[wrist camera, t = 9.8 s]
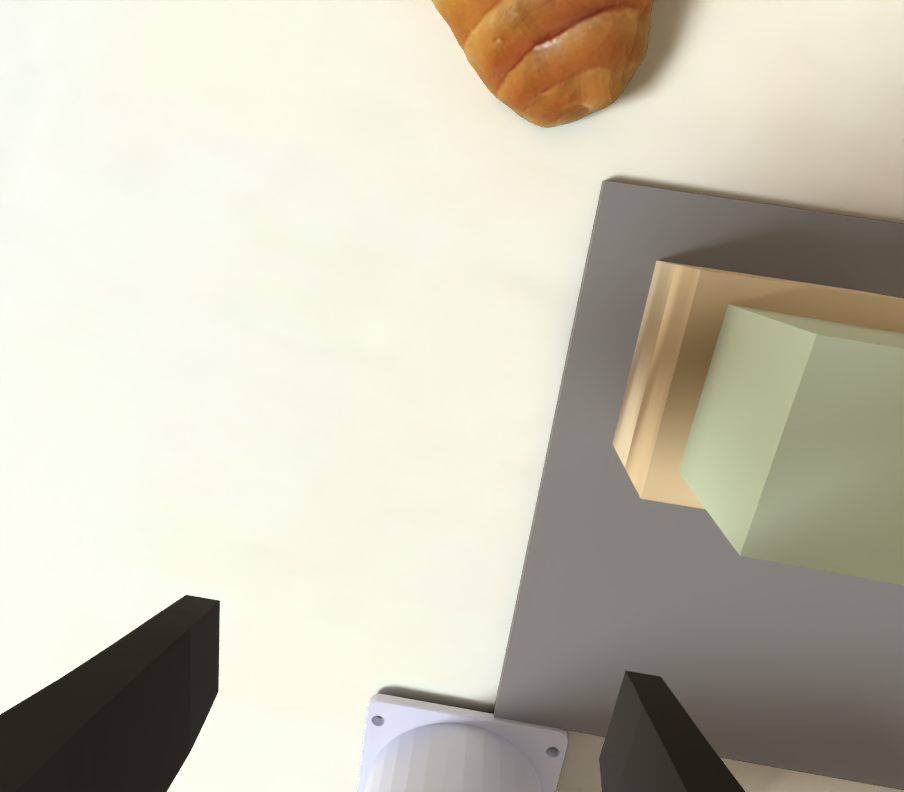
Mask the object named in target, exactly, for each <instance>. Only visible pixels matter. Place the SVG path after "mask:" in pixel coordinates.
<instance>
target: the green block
mask: <svg viewBox="0 0 904 792" xmlns="http://www.w3.org/2000/svg"><path fill="white" fill-rule="evenodd" d="M678 472H679V473H680V475H681V476H682V477H683V479H684V480H685V482H686V483H687V484H688V486H689V487H690V488H691V490H692V491H693V492H694V494H695V495H696V497H697V498H698V499H699V501H700V502H701V503H702V505H703V506H704V508H705V509H706V510H707V512H708V513H709V514H710V516H711V517H712V519H713V520H714V521H715V523H716V524H717V525H718V527H719V528H720V529H721V531H722V532H723V534H724V535H725V536H726V538H727V539H728V540H729V542H730V543H731V545H732V546H733V547H734V549H735V550H736V551H737V553H738V554H739V555H740V556H743V557H748V558H754V559H760V560H765V561H771V562H776V563H782V564H788V565H793V566H799V567H804V568H810V569H816V570H821V571H827V572H832V573H838V574H844V575H849V576H855V577H860V578H866V579H872V580H877V581H883V582H888V583H894V584H900V585H904V333H900V332H894V331H888V330H882V329H876V328H870V327H864V326H857V325H851V324H845V323H839V322H833V321H827V320H821V319H815V318H809V317H803V316H797V315H791V314H785V313H779V312H773V311H767V310H761V309H755V308H749V307H743V306H737V305H731V304H728V306H727V309H726V313H725V316H724V319H723V323H722V326H721V330H720V333H719V336H718V340H717V343H716V346H715V350H714V353H713V357H712V360H711V363H710V367H709V370H708V373H707V377H706V380H705V384H704V387H703V390H702V394H701V397H700V400H699V404H698V407H697V410H696V414H695V417H694V421H693V424H692V427H691V431H690V434H689V437H688V441H687V444H686V448H685V451H684V454H683V458H682V461H681V464H680V468H679V471H678Z"/></svg>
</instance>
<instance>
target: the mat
mask: <svg viewBox="0 0 904 792" xmlns="http://www.w3.org/2000/svg"><path fill="white" fill-rule="evenodd" d="M656 260H657V261H664V262H671V263H677V264H684V265H691V266H697V267H704V268H711V269H718V270H724V271H731V272H738V273H744V274H751V275H758V276H764V277H771V278H778V279H785V280H791V281H798V282H805V283H811V284H818V285H825V286H831V287H838V288H845V289H852V290H858V291H864V292H869V293H875V294H880V295H886V296H892V297H897V298H903V299H904V224H902V223H895V222H888V221H881V220H874V219H867V218H861V217H854V216H847V215H840V214H833V213H826V212H819V211H812V210H805V209H798V208H792V207H785V206H778V205H771V204H764V203H757V202H750V201H743V200H736V199H729V198H723V197H716V196H709V195H702V194H695V193H688V192H681V191H674V190H667V189H660V188H654V187H647V186H640V185H633V184H626V183H619V182H612V181H603V182H602V186H601V191H600V196H599V201H598V206H597V211H596V216H595V220H594V225H593V230H592V235H591V240H590V245H589V250H588V255H587V259H586V264H585V269H584V274H583V279H582V284H581V289H580V293H579V298H578V303H577V308H576V313H575V318H574V323H573V328H572V332H571V337H570V342H569V347H568V352H567V357H566V362H565V367H564V371H563V376H562V381H561V386H560V391H559V396H558V401H557V405H556V410H555V415H554V420H553V425H552V430H551V435H550V440H549V444H548V449H547V454H546V459H545V464H544V469H543V474H542V478H541V483H540V488H539V493H538V498H537V503H536V508H535V513H534V517H533V522H532V527H531V532H530V537H529V542H528V547H527V552H526V556H525V561H524V566H523V571H522V576H521V581H520V586H519V590H518V595H517V600H516V605H515V610H514V615H513V620H512V625H511V629H510V634H509V639H508V644H507V649H506V654H505V659H504V663H503V668H502V673H501V678H500V683H499V688H498V693H497V698H496V702H495V707H494V717H497V718H502V719H508V720H513V721H519V722H525V723H530V724H536V725H542V726H547V727H553V728H558V729H564V730H570V731H575V732H581V733H586V734H592V735H598V736H603V737H606V735H607V731H608V728H609V725H610V721H611V718H612V714H613V711H614V708H615V704H616V701H617V698H618V694H619V691H620V687H621V684H622V681H623V677H624V674H625V670H626V671H632V672H637V673H643V674H649V675H655V676H661V677H662V679H663V680H664V682H665V683H666V684H667V686H668V687H669V688H670V690H671V691H672V693H673V694H674V695H675V697H676V698H677V700H678V701H679V702H680V704H681V705H682V706H683V708H684V709H685V711H686V712H687V713H688V715H689V716H690V718H691V719H692V720H693V722H694V723H695V725H696V726H697V727H698V729H699V730H700V732H701V733H702V734H703V736H704V737H705V738H706V740H707V741H708V743H709V744H710V745H711V747H712V748H713V749H714V751H715V752H716V753H717V755H718V756H719V757H721V758H727V759H732V760H738V761H744V762H749V763H755V764H760V765H766V766H772V767H777V768H783V769H788V770H794V771H800V772H805V773H811V774H816V775H822V776H828V777H833V778H839V779H845V780H850V781H856V782H861V783H867V784H873V785H878V786H884V787H889V788H895V789H901V790H904V585H900V584H894V583H888V582H883V581H877V580H872V579H866V578H860V577H855V576H849V575H844V574H838V573H832V572H827V571H821V570H816V569H810V568H804V567H799V566H793V565H788V564H782V563H776V562H771V561H765V560H760V559H754V558H748V557H743V556H740V555H739V554H738V553H737V551H736V550H735V549H734V547H733V546H732V545H731V543H730V542H729V540H728V539H727V538H726V536H725V535H724V534H723V532H722V531H721V529H720V528H719V527H718V525H717V524H716V523H715V521H714V520H713V519H712V517H711V516H710V514H709V513H708V512H707V510H706V509H701V508H695V507H689V506H683V505H677V504H670V503H664V502H658V501H652V500H646V499H641V498H640V496H639V494H638V492H637V491H636V489H635V487H634V485H633V483H632V481H631V479H630V477H629V475H628V473H627V471H626V469H625V467H624V466H623V464H622V462H621V460H620V458H619V456H618V454H617V452H616V450H615V448H614V446H613V444H612V443H613V439H614V435H615V431H616V427H617V423H618V418H619V414H620V410H621V406H622V402H623V398H624V393H625V389H626V385H627V381H628V377H629V373H630V368H631V364H632V360H633V356H634V352H635V348H636V343H637V339H638V335H639V331H640V327H641V323H642V319H643V314H644V310H645V306H646V302H647V298H648V294H649V289H650V285H651V281H652V277H653V273H654V269H655V264H656Z"/></svg>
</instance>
